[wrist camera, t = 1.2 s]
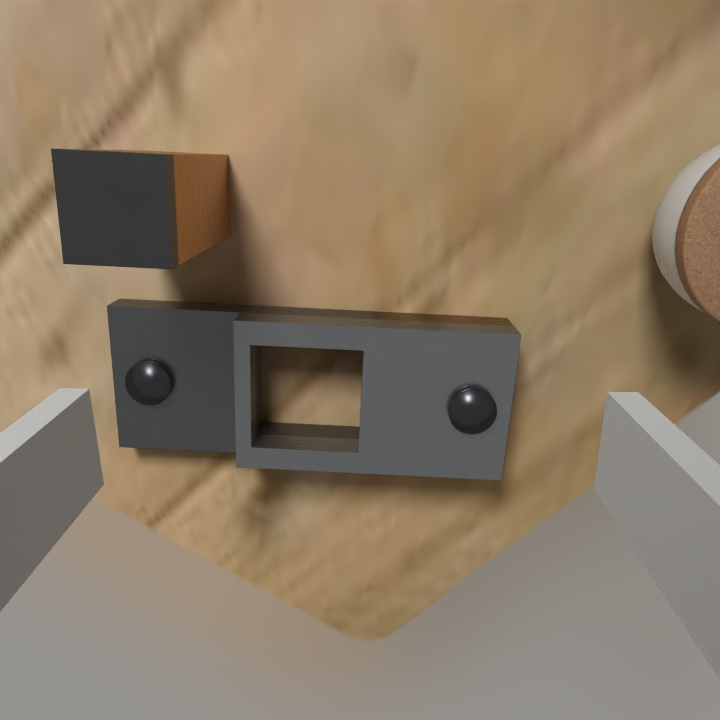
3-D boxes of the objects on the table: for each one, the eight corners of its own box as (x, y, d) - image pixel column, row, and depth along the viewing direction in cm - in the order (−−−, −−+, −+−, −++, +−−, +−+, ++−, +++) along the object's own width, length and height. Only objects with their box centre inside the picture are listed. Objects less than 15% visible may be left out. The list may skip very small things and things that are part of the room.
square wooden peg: (147, 150, 38) (50, 148, 26) (228, 154, 38) (166, 154, 26) (152, 232, 39) (63, 263, 28) (229, 236, 39) (172, 269, 28)
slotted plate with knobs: (119, 298, 41) (89, 316, 36) (507, 318, 41) (523, 337, 36) (130, 434, 44) (103, 465, 40) (490, 452, 44) (503, 485, 39)
